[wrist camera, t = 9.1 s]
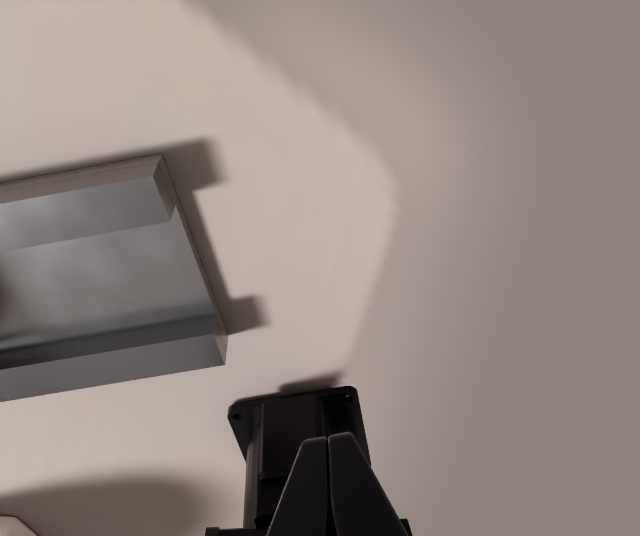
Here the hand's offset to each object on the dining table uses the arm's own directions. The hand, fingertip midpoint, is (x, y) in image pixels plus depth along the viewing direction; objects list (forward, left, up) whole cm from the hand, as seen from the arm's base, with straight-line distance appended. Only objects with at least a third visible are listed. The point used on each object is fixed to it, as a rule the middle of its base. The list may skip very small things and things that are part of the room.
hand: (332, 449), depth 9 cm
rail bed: (-4, +13, -13) cm, 19 cm away
